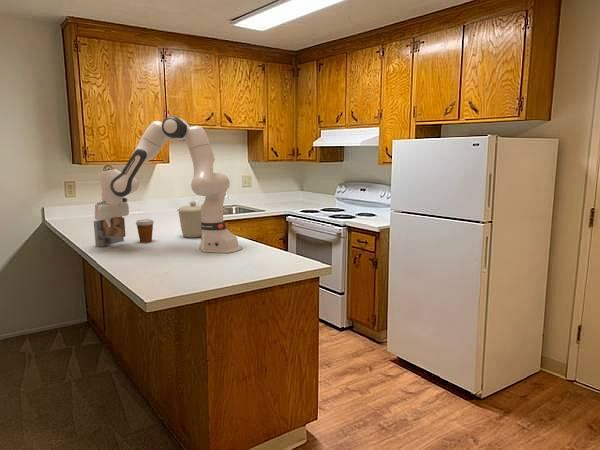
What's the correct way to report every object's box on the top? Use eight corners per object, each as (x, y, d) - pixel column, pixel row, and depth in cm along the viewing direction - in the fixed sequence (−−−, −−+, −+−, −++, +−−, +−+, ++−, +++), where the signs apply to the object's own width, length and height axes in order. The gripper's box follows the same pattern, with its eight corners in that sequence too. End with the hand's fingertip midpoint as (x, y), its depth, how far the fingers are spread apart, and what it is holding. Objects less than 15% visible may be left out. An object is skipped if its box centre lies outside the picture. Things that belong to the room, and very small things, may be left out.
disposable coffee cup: (136, 243, 247) (134, 222, 245) (137, 240, 256) (136, 219, 254) (154, 242, 250) (153, 221, 248) (155, 239, 259) (153, 218, 257)
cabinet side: (128, 241, 254) (126, 216, 252) (103, 247, 238) (101, 221, 235) (121, 240, 256) (119, 216, 254) (95, 246, 240) (93, 220, 237)
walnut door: (125, 236, 236) (124, 217, 234) (120, 237, 232) (118, 218, 231) (105, 234, 241) (104, 215, 240) (99, 235, 238) (98, 216, 236)
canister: (202, 239, 257) (200, 203, 253) (173, 238, 261) (171, 202, 257) (214, 234, 274) (213, 199, 271) (186, 233, 278) (185, 199, 274)
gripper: (99, 202, 224) (101, 230, 226) (130, 198, 242) (131, 223, 245) (90, 202, 226) (92, 229, 228) (121, 197, 245) (122, 222, 247)
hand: (113, 226), depth 237 cm, fingers closed on walnut door, 2 cm apart
